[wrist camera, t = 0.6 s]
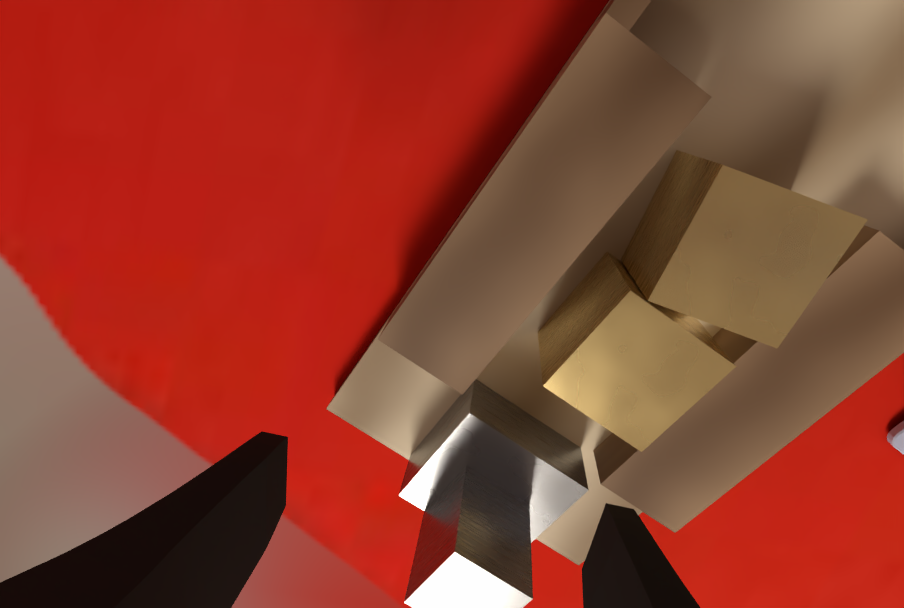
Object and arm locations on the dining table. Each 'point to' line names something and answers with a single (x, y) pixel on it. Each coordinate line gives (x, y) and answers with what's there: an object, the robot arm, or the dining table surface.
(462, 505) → the brushed metal block
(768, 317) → the golden brown cube
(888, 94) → the slot board
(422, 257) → the dining table surface
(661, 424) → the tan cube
